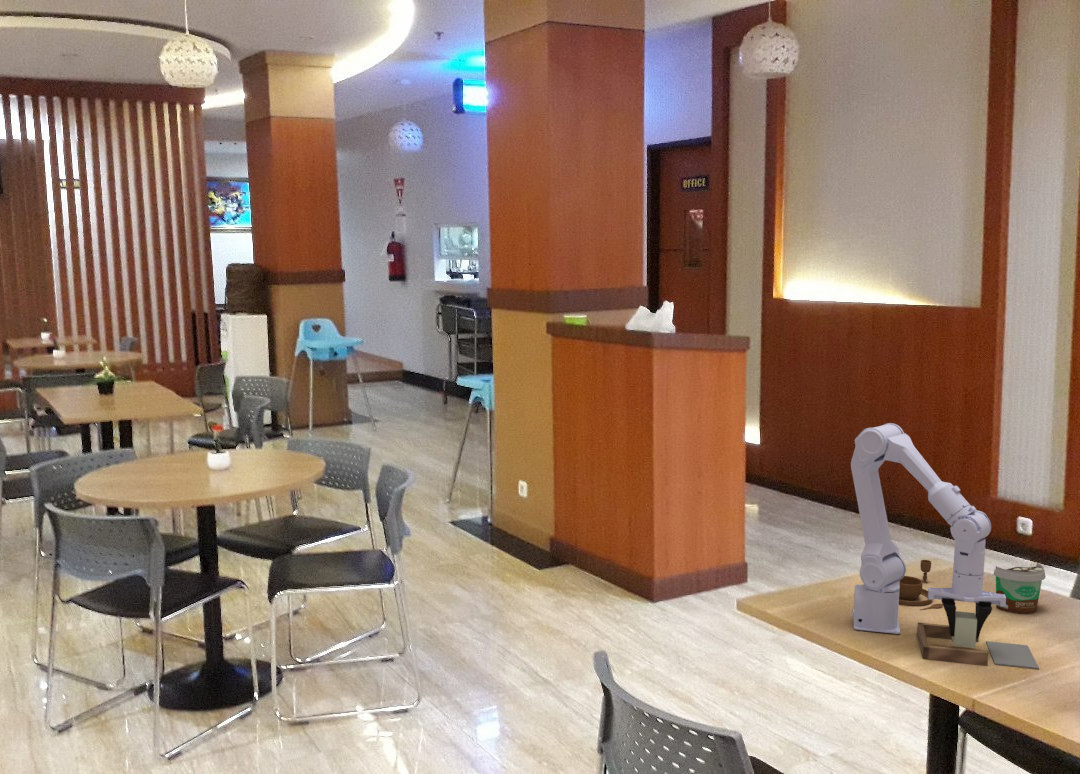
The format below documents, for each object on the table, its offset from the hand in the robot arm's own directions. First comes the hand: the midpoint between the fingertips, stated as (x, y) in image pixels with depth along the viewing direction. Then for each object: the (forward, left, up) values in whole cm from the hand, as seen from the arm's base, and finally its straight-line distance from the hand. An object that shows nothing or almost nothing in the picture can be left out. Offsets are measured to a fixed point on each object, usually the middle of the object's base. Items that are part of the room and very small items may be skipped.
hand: (963, 635), depth 210 cm
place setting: (-6, +33, -4) cm, 34 cm away
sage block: (0, 0, -2) cm, 2 cm away
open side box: (-2, 0, -3) cm, 4 cm away
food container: (+16, +29, -3) cm, 33 cm away
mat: (+9, 0, -3) cm, 10 cm away
